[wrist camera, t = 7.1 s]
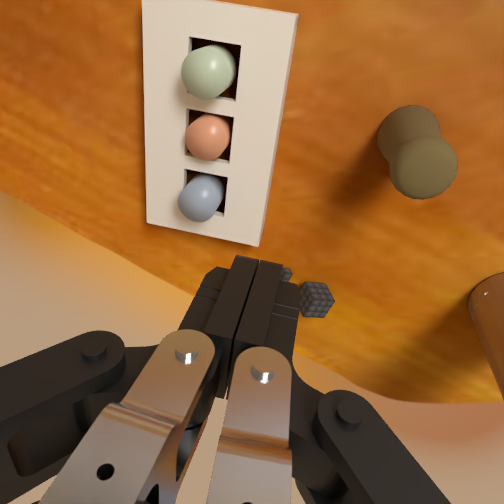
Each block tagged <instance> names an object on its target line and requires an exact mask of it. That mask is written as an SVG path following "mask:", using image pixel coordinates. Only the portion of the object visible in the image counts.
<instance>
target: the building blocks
mask: <svg viewBox="0 0 504 504" xmlns="http://www.w3.org/2000/svg"><path fill="white" fill-rule="evenodd" d="M291 276H292V272H291V270H290V269H288V268H283V269H282V272H281V277H280V280H281V281H285V282H288V281H289V279H290V278H291ZM299 292H300V294H301V301H300V308H299V309H300V311H301V313H302V315H303V317H316V318H324V317H325V316H326V314H327V313H328V311H329V310H330V308H331V307H332V305H333V304H334V302H335V300H334V298H333V296H332V295H331V293H330V291H329V289H328V287H327V285H326V284H324V283H314V282H305V283H304V284H303V286H302V288H301V289H300V291H299Z"/></svg>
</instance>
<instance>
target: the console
mask: <svg viewBox="0 0 504 504" xmlns="http://www.w3.org/2000/svg"><path fill="white" fill-rule="evenodd" d="M298 19H299V14H296V13H290V12H283V11H277V10H271V9H265V8H258V7H252V6H246V5H240V4H233V3H227V2H221V1H215V0H142V26H143V72H144V119H145V165H146V212H147V223H150V224H155V225H159V226H164V227H169V228H173V229H178V230H183V231H187V232H192V233H197V234H201V235H206V236H210V237H215V238H220V239H224V240H229V241H234V242H238V243H243V244H248V245H252V246H257V247H258V246H259V243H260V240H261V237H262V234H263V228H264V222H265V216H266V210H267V204H268V198H269V192H270V186H271V180H272V174H273V168H274V162H275V156H276V150H277V144H278V138H279V132H280V126H281V120H282V114H283V108H284V102H285V96H286V90H287V84H288V78H289V72H290V66H291V60H292V54H293V48H294V43H295V37H296V31H297V25H298ZM192 37H195V38H201V39H207V40H213V41H219V42H225V43H231V44H237V45H241V54H240V63H239V73H238V83H237V93H236V99H231V98H226V97H220V96H217V97H215V98H213V99H210V100H202V99H199V98H196V97H195V96H193V95H192V94H191V93H190V92H189V91H188V90H187V89H186V87H185V85H184V83H183V81H182V76H181V68H182V64H183V61H184V59H185V57H186V56H187V55H188V54H189V53H190V52H192ZM189 109H193V110H198V111H203V112H209V113H214V114H219V115H225V116H230V117H234V122H233V132H232V142H231V152H230V161H228V160H223V159H218V158H216V159H214V160H210V161H205V160H201V159H198V158H196V157H195V156H194V155H193V154H192V153H188V148H187V145H186V142H185V134H186V130H187V128H188V127H189ZM187 169H189V170H194V171H199V172H204V173H209V174H214V175H219V176H224V177H228V182H227V191H226V201H225V211H224V213H222V212H217V211H215V213H214V215H213V216H212V217H211V218H210V219H209V220H207V221H205V222H194V221H191V220H189V219H188V218H186V217H185V216H184V215H183V214H182V213H181V211H180V209H179V207H178V196H179V194H180V193H181V191H182V190H183V189H184V188H185V187H186V179H187Z"/></svg>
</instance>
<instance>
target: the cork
mask: <svg viewBox="0 0 504 504" xmlns="http://www.w3.org/2000/svg"><path fill="white" fill-rule="evenodd" d="M377 143H378V148H379V150H380V152H381V154H382V155H383V157H384V158H385V159H386V160H387V162H388V163H389V164H390V168H389V171H390V177H391V181H392V183H393V185H394V186H395V188H396V189H397V190H398V191H399V192H401V193H402V194H403V195H404V196H407V197H410V198H412V199H428V198H432V197H435V196H437V195H439V194H441V193H442V192H444V191H445V190H446V189H447V188H448V187H449V186H450V185H451V183H452V182H453V180H454V179H455V177H456V173H457V170H458V162H457V156H456V154H455V152H454V150H453V148H452V147H451V146H450V145H449V144H448V143H447V142H446V141H445V140H443V139H442V136H441V131H440V126H439V122H438V120H437V118H436V116H435V115H434V114H433V113H432V112H431V111H430V110H428V109H426V108H424V107H421V106H414V105H408V106H405V107H401V108H398V109H396V110H395V111H393V112H391V113H390V114H389V115H388V116H387V117H386V118H385V119H384V120H383V122H382V123H381V125H380V127H379V129H378V135H377Z"/></svg>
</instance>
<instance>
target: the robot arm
mask: <svg viewBox="0 0 504 504" xmlns="http://www.w3.org/2000/svg"><path fill="white" fill-rule="evenodd" d="M258 265H259V266H258ZM282 267H283V265H282V264H277V263H273V262H268V261H264V260H260V263H259V260H258V259H254V258H249V257H245V256H240V255H236V257H235V259H234V261H233V263H232V266H231V268H230V269H226V268H221V267H216V268H214V269H213V270H211V271H210V272H209V273H207V274H206V275H205V277H204V279H203V281H202V283H201V285H200V288H199V289H198V291H197V293H196V295H195V297H194V299H193V301H192V303H191V305H190V307H189V309H188V311H187V312H186V314H185V316H184V319H183V320H182V322H181V324H180V326H179V329H178V330H177V331H175V332H172V333H170V334H169V335H167V336H166V337H165V338H163V340H162V341H161V342H160V344H158V345H154V346H147V347H125V346H124V342H123V341H122V339H121V338H120V337H119V336H117V335H116V334H114V333H112V332H108V331H91V332H87V333H84V334H81V335H79V336H76V337H74V338H71V339H69V340H66V341H64V342H62V343H59V344H57V345H54V346H52V347H49V348H47V349H44V350H42V351H39V352H37V353H34V354H32V355H29V356H27V357H24V358H22V359H20V360H17V361H15V362H12V363H10V364H7V365H5V366H2V367H0V504H7V503H9V502H11V501H13V500H14V499H16V498H18V497H19V496H21V495H23V494H24V493H26V492H28V491H29V490H31V489H33V488H34V487H36V486H38V485H40V484H41V483H43V482H45V481H46V480H48V479H50V478H51V477H53V476H55V475H57V474H58V473H59V474H58V475H57V477H56V478H55V479H54V481H53V482H52V484H51V485H50V487H49V488H48V490H47V491H46V493H45V494H44V495H43V497H42V498H41V500H39V501H37V502H34V503H32V504H175V502H176V498H177V494H178V491H179V488H180V486H181V483H182V481H183V478H184V476H185V474H186V471H187V469H188V467H189V464H190V462H191V459H192V457H193V454H194V452H195V450H196V447H197V445H198V443H199V440H200V438H201V436H202V433H203V431H204V428H205V426H206V423H207V420H208V415H209V413H210V411H211V408H212V405H213V401H214V399H215V397H218V398H222V399H224V396H225V393H226V390H227V387H228V390H227V397H226V399H227V400H228V403H227V407H226V412H225V417H224V422H223V427H222V432H221V435H220V438H219V442H218V447H217V452H216V457H215V462H214V467H213V471H212V476H211V482H210V486H209V491H208V496H207V502H206V504H291V478H292V477H293V478H295V482H296V485H297V488H298V490H299V492H300V494H301V496H302V497H303V499H304V501H305V503H306V504H451V503H450V502H449V501H448V499H447V498H446V497H445V496H444V494H443V493H442V492H441V491H440V490H439V488H438V487H437V486H436V485H435V483H434V482H433V481H432V480H431V478H430V477H429V476H428V475H427V473H426V472H425V471H424V470H423V468H422V467H421V466H420V465H419V463H418V462H417V461H416V460H415V459H414V457H413V456H412V455H411V454H410V452H409V451H408V450H407V449H406V447H405V446H404V445H403V444H402V443H401V441H400V440H399V439H398V438H397V436H396V435H395V434H394V433H393V431H392V430H391V429H390V428H389V427H388V425H387V424H386V423H385V422H384V420H383V419H382V418H381V416H380V415H379V414H378V413H377V412H376V410H375V409H374V408H373V407H372V405H371V404H370V403H369V402H368V401H366V400H365V399H364V398H363V397H361V396H359V395H357V394H356V393H353V392H350V391H346V390H334V391H330V392H328V393H326V394H323V393H321V392H319V391H318V390H316V389H314V388H312V387H311V386H309V385H307V384H306V383H305V382H303V381H302V379H301V378H300V377H299V376H298V375H297V373H296V371H295V370H294V367H293V363H292V355H293V349H294V342H295V335H296V328H297V321H298V315H299V308H300V301H301V294H300V292H299V289H298V287H297V285H296V284H294V283H290V282H285V281H281V280H280V277H281V272H282ZM468 311H469V314H470V316H471V319H472V321H473V324H474V326H475V329H476V332H477V334H478V337H479V339H480V342H481V344H482V347H483V349H484V352H485V354H486V357H487V359H488V362H489V364H490V367H491V369H492V372H493V374H494V377H495V379H496V382H497V385H498V387H499V390H500V392H501V395H502V397H503V400H504V273H500V274H497V275H494V276H492V277H490V278H488V279H486V280H485V281H483V282H481V283H480V284H479V285H478V286H477V287H476V288H475V289H474V290H473V292H472V293H471V295H470V297H469V300H468Z"/></svg>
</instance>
